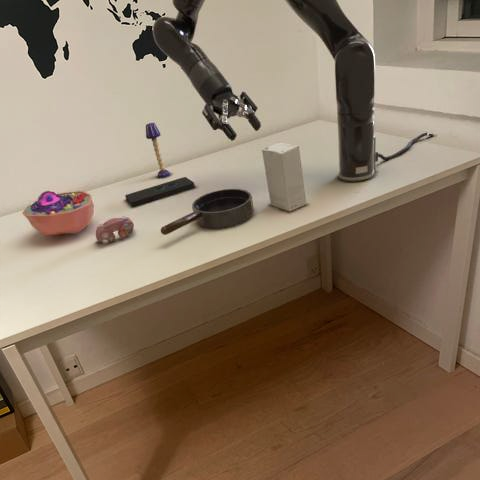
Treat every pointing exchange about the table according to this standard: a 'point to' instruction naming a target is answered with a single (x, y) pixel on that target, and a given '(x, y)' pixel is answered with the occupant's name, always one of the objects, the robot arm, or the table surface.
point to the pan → (224, 208)
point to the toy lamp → (156, 147)
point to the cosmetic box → (284, 176)
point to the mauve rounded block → (114, 229)
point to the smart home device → (159, 191)
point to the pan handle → (180, 222)
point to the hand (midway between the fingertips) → (247, 133)
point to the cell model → (60, 212)
